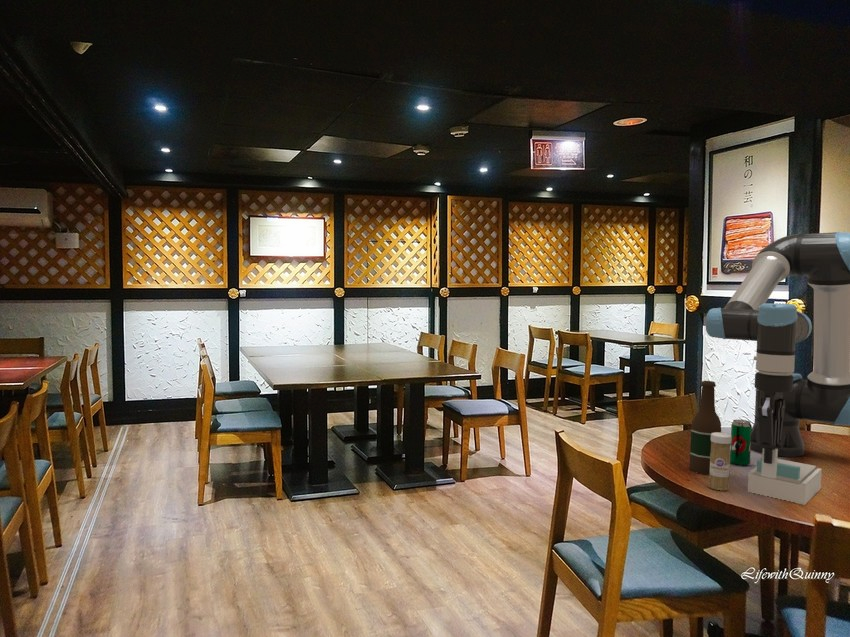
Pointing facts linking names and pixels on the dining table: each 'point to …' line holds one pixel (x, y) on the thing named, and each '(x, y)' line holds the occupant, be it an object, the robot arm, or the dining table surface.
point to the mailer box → (786, 487)
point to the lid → (789, 470)
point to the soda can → (740, 442)
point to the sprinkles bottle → (719, 461)
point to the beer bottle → (704, 430)
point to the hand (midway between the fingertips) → (768, 476)
